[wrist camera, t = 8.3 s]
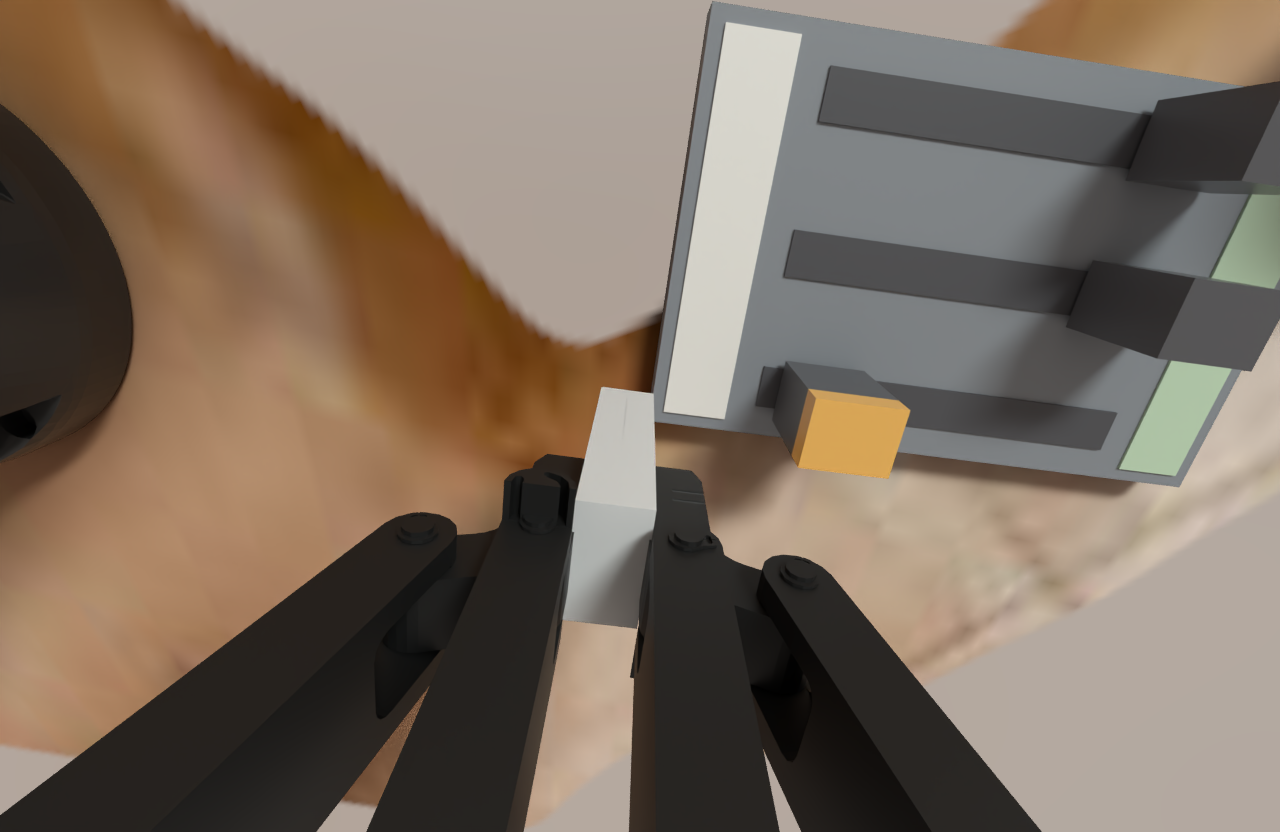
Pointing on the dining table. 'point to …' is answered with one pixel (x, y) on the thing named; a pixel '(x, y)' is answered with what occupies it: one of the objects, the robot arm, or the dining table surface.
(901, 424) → the breaker
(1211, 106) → the block
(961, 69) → the panel
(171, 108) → the dining table surface
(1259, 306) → the breaker
